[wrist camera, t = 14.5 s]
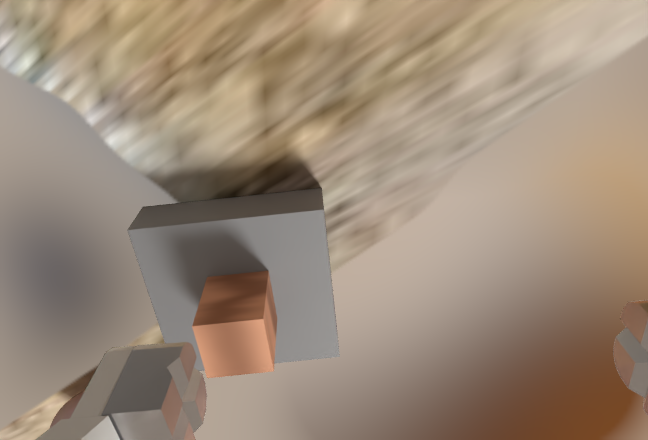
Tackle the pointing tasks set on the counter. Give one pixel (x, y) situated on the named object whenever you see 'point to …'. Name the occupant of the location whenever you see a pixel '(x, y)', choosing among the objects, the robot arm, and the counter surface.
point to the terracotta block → (236, 324)
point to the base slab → (242, 264)
